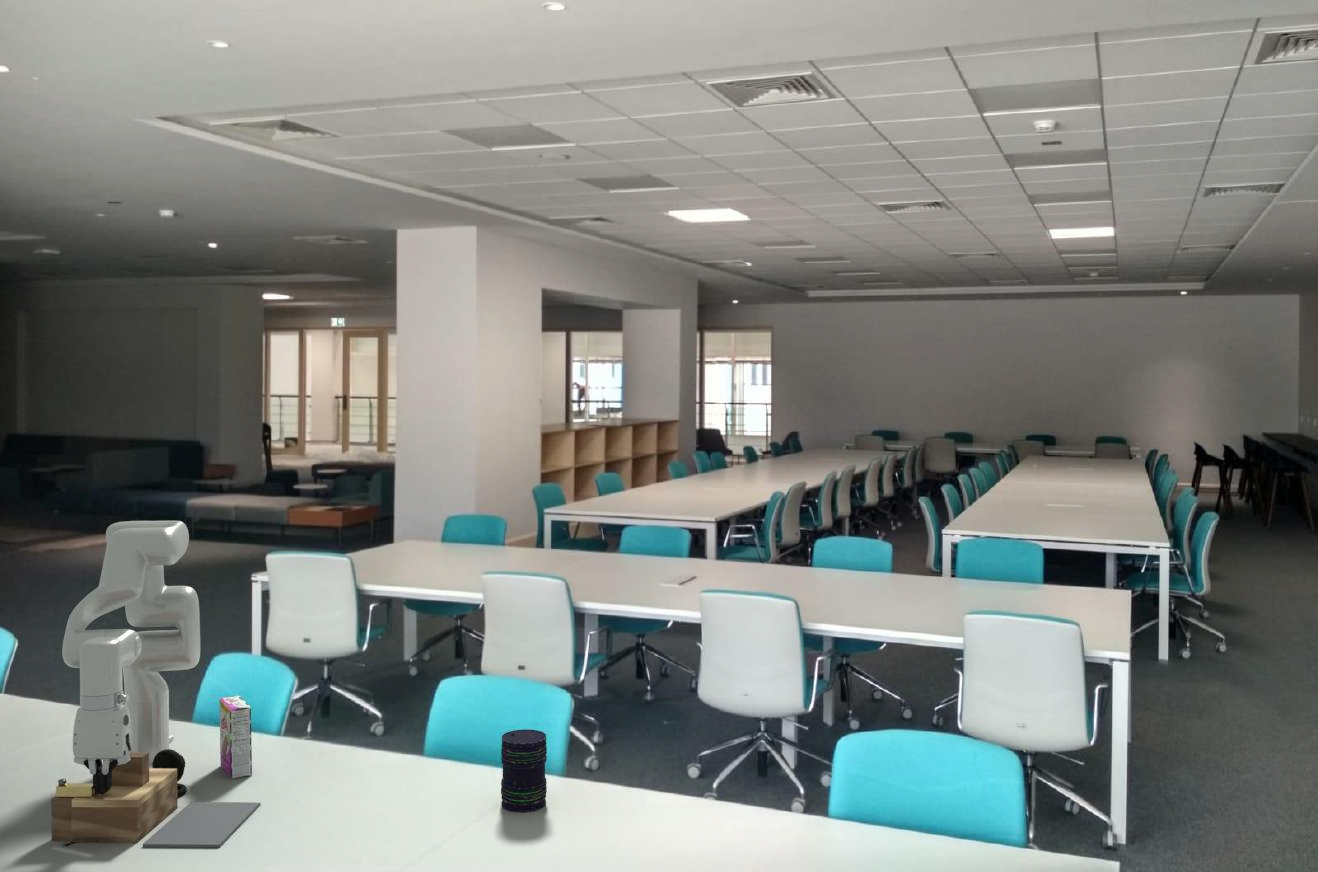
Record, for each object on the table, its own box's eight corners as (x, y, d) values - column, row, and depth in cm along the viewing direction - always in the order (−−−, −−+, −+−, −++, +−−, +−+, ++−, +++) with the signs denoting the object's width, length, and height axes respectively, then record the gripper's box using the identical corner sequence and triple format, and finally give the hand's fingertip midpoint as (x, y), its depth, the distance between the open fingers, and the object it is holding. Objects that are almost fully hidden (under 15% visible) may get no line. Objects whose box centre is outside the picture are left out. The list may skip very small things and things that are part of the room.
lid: (116, 775, 234) (115, 740, 234) (177, 775, 234) (176, 740, 234) (71, 807, 216) (71, 769, 216) (137, 807, 216) (137, 770, 216)
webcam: (195, 790, 245) (194, 746, 244) (170, 802, 238) (169, 757, 237) (167, 786, 247) (166, 742, 247) (141, 798, 240) (141, 752, 240)
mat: (190, 804, 236) (190, 802, 236) (260, 805, 236) (260, 802, 236) (142, 847, 214) (142, 844, 214) (219, 847, 214) (219, 844, 214)
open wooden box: (96, 807, 234) (96, 768, 234) (177, 808, 234) (177, 768, 234) (49, 842, 216) (49, 799, 216) (137, 842, 216) (137, 800, 216)
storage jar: (555, 800, 241) (555, 733, 240) (531, 816, 232) (531, 746, 231) (516, 793, 245) (516, 727, 244) (491, 808, 236) (491, 739, 235)
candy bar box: (218, 766, 261) (218, 698, 260) (240, 762, 263) (240, 694, 263) (230, 780, 251) (229, 709, 251) (252, 776, 254) (252, 706, 254)
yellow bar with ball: (61, 793, 219) (61, 778, 219) (96, 793, 219) (96, 778, 219) (56, 796, 217) (56, 781, 217) (91, 797, 217) (91, 782, 217)
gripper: (148, 695, 221) (149, 785, 222) (73, 695, 221) (74, 785, 222) (130, 706, 214) (131, 799, 214) (53, 706, 214) (54, 799, 214)
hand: (102, 792), depth 218 cm, fingers closed
